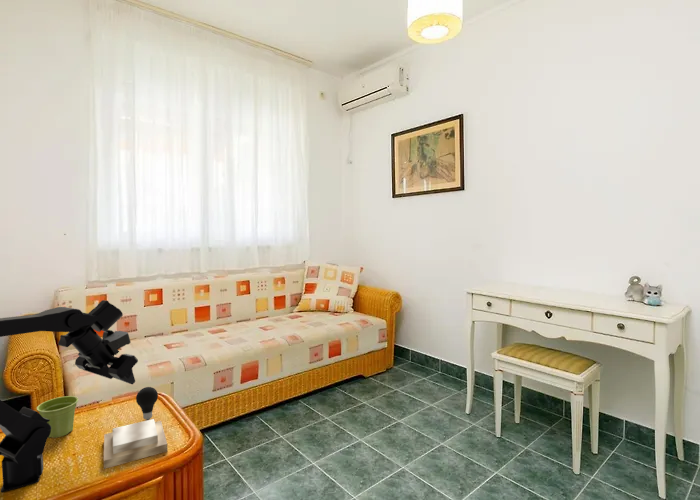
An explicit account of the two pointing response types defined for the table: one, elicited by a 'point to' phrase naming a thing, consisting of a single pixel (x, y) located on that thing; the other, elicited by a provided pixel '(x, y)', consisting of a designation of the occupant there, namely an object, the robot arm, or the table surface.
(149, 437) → the stepped stand
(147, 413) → the light bulb
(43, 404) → the plant pot
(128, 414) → the table surface
